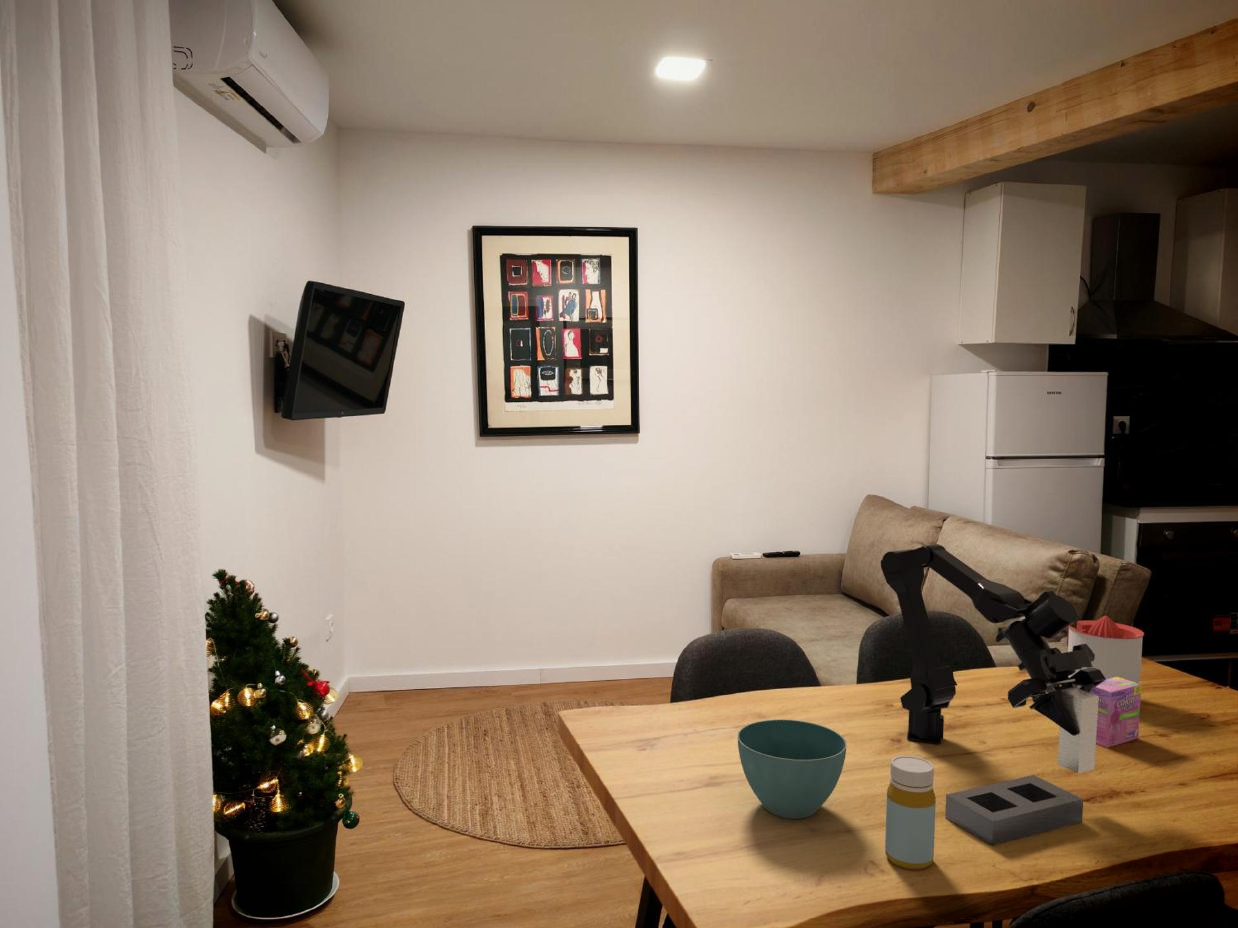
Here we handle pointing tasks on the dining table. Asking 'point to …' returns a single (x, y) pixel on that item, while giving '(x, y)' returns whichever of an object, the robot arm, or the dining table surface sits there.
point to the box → (1117, 711)
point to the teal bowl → (791, 764)
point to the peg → (1079, 731)
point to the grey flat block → (1013, 809)
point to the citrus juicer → (1109, 647)
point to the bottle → (910, 813)
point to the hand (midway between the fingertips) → (1084, 732)
